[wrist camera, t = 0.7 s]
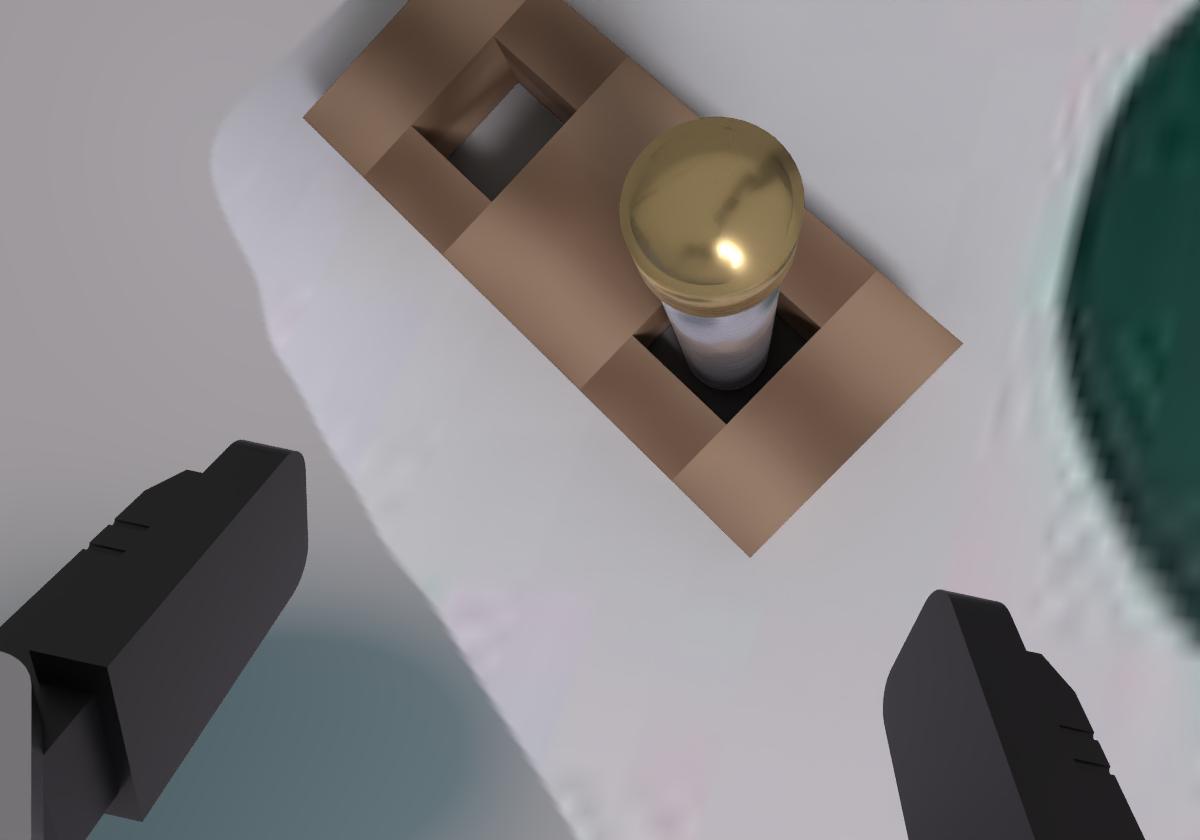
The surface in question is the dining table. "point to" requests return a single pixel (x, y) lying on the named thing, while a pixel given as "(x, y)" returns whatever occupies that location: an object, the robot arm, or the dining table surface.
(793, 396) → the stand
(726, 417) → the dining table surface
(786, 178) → the gold-capped metal cylinder
